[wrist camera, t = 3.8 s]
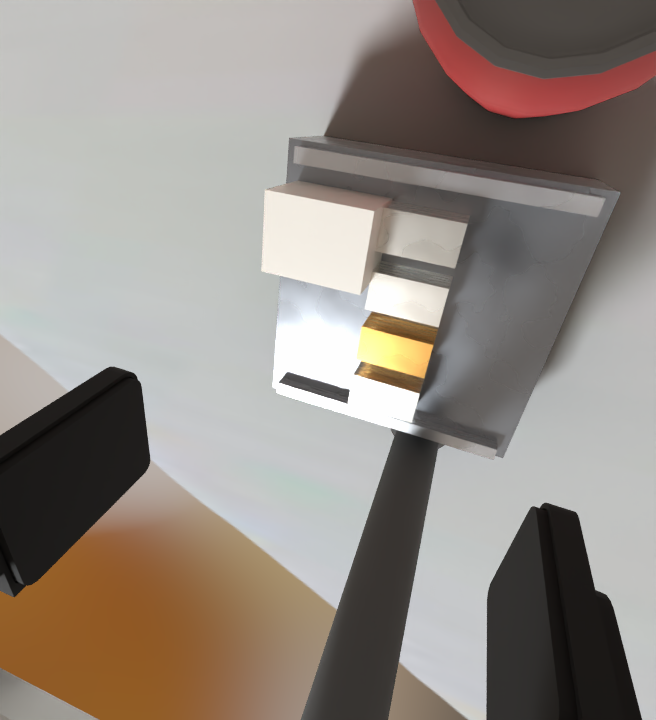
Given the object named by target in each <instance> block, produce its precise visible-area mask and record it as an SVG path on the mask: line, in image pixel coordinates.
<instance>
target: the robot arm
mask: <svg viewBox="0 0 656 720" xmlns="http://www.w3.org/2000/svg"><path fill="white" fill-rule="evenodd" d="M149 464H150V453H149V445H148V436H147V428H146V420H145V412H144V403H143V395H142V387H141V383H140V382H139V381H138V379H137V376H136V375H135V374H134V373H132V372H129V371H126V370H123V369H120V368H116V367H108V368H106V369H105V370H103V371H101V372H100V373H98V374H97V375H95V376H93V377H92V378H90V379H89V380H87V381H86V382H84V383H82V384H81V385H79V386H78V387H76V388H74V389H73V390H71V391H70V392H68V393H67V394H65V395H63V396H62V397H60V398H59V399H57V400H55V401H54V402H52V403H51V404H49V405H48V406H46V407H44V408H43V409H41V410H40V411H38V412H37V413H35V414H33V415H32V416H30V417H29V418H27V419H25V420H24V421H22V422H21V423H19V424H18V425H16V426H14V427H13V428H11V429H10V430H8V431H6V432H5V433H3V434H2V435H0V591H2V592H4V593H6V594H8V595H10V596H12V597H15V596H16V595H17V594H18V593H19V592H20V591H21V590H22V589H23V588H24V587H25V586H26V585H27V586H28V585H32V584H33V583H35V582H36V581H38V579H40V578H41V577H42V576H43V575H44V574H45V573H46V572H47V571H48V570H49V569H50V568H51V567H52V566H53V565H54V564H55V563H56V562H57V561H58V560H59V559H60V558H61V557H62V556H63V555H64V554H65V553H66V552H67V551H68V550H69V548H71V547H72V546H73V545H74V544H75V543H76V542H77V541H78V540H79V539H80V538H81V537H82V536H83V535H84V534H85V532H87V530H89V528H91V527H92V526H93V525H94V524H95V522H97V521H98V519H100V517H102V516H103V515H104V514H105V513H106V512H107V511H108V510H109V509H110V508H111V506H113V505H114V503H116V501H117V500H118V499H119V498H120V497H121V496H122V495H123V494H124V493H125V492H126V491H127V490H128V489H129V488H130V487H131V486H132V485H133V484H134V483H135V482H136V481H137V480H138V479H139V478H140V477H141V476H142V475H143V474H144V473H145V472H146V470H147V469H148V467H149ZM0 720H98V719H96V718H94V717H93V716H91V715H89V714H87V713H85V712H83V711H81V710H79V709H77V708H76V707H74V706H72V705H70V704H68V703H66V702H64V701H62V700H60V699H58V698H57V697H55V696H53V695H51V694H49V693H47V692H45V691H43V690H41V689H39V688H38V687H36V686H33V685H32V684H30V683H28V682H26V681H24V680H22V679H20V678H18V677H16V676H14V675H13V674H11V673H9V672H7V671H5V670H3V669H1V668H0ZM487 720H642V718H641V714H640V710H639V706H638V702H637V698H636V694H635V691H634V687H633V683H632V679H631V675H630V671H629V667H628V663H627V659H626V655H625V651H624V648H623V644H622V640H621V636H620V632H619V628H618V624H617V620H616V616H615V612H614V609H613V606H612V604H611V601H610V599H609V598H608V597H607V595H606V594H603V593H601V592H599V591H596V590H595V587H594V583H593V578H592V574H591V570H590V565H589V561H588V556H587V552H586V548H585V543H584V539H583V534H582V530H581V526H580V521H579V517H578V515H577V513H576V512H574V511H571V510H568V509H564V508H561V507H558V506H555V505H552V504H549V503H544V504H542V506H541V507H540V508H537V507H534V506H533V507H531V508H530V510H529V512H528V514H527V515H526V517H525V519H524V521H523V523H522V525H521V527H520V529H519V531H518V532H517V534H516V536H515V538H514V540H513V542H512V544H511V546H510V548H509V549H508V551H507V553H506V555H505V557H504V559H503V561H502V563H501V565H500V566H499V568H498V570H497V572H496V574H495V576H494V578H493V580H492V582H491V584H490V587H489V591H488V597H487Z"/></svg>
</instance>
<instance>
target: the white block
mask: <svg viewBox="0 0 656 720" xmlns="http://www.w3.org/2000/svg"><path fill="white" fill-rule="evenodd" d="M392 199H393V198H388V197H383V196H377V195H372V194H367V193H361V192H356V191H351V190H345V189H340V188H335V187H329V186H324V185H319V184H313V183H308V182H303V181H294V182H291V183H287V184H284V185H280V186H276V187H273V188H269V189H266V190H265V201H264V225H263V248H262V271H263V272H267V273H271V274H275V275H279V276H283V277H287V278H291V279H295V280H300V281H304V282H308V283H312V284H316V285H320V286H324V287H328V288H332V289H337V290H341V291H345V292H349V293H353V294H357V295H361V293H362V292H363V291H364V290H365V289H366V287H367V286H368V285H369V284H370V278H371V273H372V271H373V269H374V268H375V267H376V266H377V265H378V264H379V262H380V261H381V258H382V253H381V252H377V251H375V250H376V245H377V239H378V234H379V228H380V222H381V217H382V211H383V207H385V206H386V205H387V204H389V203H390V202H392Z"/></svg>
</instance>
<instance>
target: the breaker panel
mask: <svg viewBox="0 0 656 720" xmlns="http://www.w3.org/2000/svg"><path fill="white" fill-rule="evenodd" d="M294 181H303V182H308V183H313V184H319V185H324V186H329V187H335V188H340V189H345V190H351V191H356V192H361V193H367V194H372V195H377V196H383V197H388V198H393V199H392V202H390V203H389V204H387V205H386V206H385V207H383V211H382V217H381V222H380V228H379V234H378V239H377V245H376V250H375V251H377V252H381V253H382V258H381V261H380V262H379V264H378V265H377V266H376V267H375V268H374V269H373V271H372V273H371V278H370V284H369V285H368V286H367V287H366V289H365V290H364V291H363V292H362V293H361V295H357V294H353V293H349V292H345V291H341V290H337V289H332V288H328V287H324V286H320V285H316V284H312V283H308V282H304V281H300V280H295V279H291V278H287V277H283V276H280V286H279V301H278V317H277V332H276V347H275V362H274V377H273V387H274V388H277V393H280V394H283V395H286V396H289V397H293V398H296V399H299V400H302V401H306V402H309V403H312V404H315V405H318V406H322V407H325V408H328V409H331V410H335V411H338V412H341V413H344V414H347V415H351V416H354V417H357V418H360V419H364V420H367V421H370V422H373V423H376V424H380V425H383V426H386V427H389V428H393V429H396V430H399V431H402V432H405V433H409V434H412V435H415V436H418V437H422V438H425V439H428V440H431V441H434V442H438V443H441V444H444V445H447V446H451V447H454V448H457V449H460V450H463V451H467V452H470V453H473V454H476V455H480V456H483V457H486V458H489V459H492V460H493V459H494V457H495V456H498V457H501V458H503V457H504V454H505V452H506V450H507V448H508V445H509V443H510V441H511V439H512V436H513V434H514V432H515V430H516V427H517V425H518V423H519V421H520V418H521V416H522V414H523V412H524V409H525V407H526V405H527V403H528V400H529V398H530V396H531V394H532V391H533V389H534V387H535V385H536V382H537V380H538V378H539V376H540V373H541V371H542V369H543V367H544V364H545V362H546V360H547V358H548V355H549V353H550V351H551V349H552V346H553V344H554V342H555V340H556V337H557V335H558V333H559V331H560V328H561V326H562V324H563V322H564V319H565V317H566V315H567V313H568V310H569V308H570V306H571V304H572V301H573V299H574V297H575V295H576V292H577V290H578V288H579V286H580V283H581V281H582V279H583V277H584V274H585V272H586V270H587V268H588V265H589V263H590V261H591V259H592V256H593V254H594V252H595V250H596V247H597V245H598V243H599V241H600V238H601V236H602V234H603V232H604V229H605V227H606V225H607V223H608V220H609V218H610V216H611V214H612V211H613V209H614V207H615V205H616V202H617V200H618V198H619V196H620V193H621V192H619V191H618V190H616V189H614V188H612V187H610V186H608V185H607V184H605V183H603V182H601V181H599V180H597V179H590V178H584V177H578V176H572V175H565V174H559V173H553V172H547V171H540V170H534V169H528V168H522V167H515V166H509V165H503V164H496V163H490V162H484V161H478V160H471V159H465V158H459V157H453V156H446V155H440V154H434V153H428V152H421V151H415V150H409V149H403V148H396V147H390V146H384V145H378V144H371V143H365V142H359V141H353V140H346V139H340V138H334V137H328V136H312V137H296V138H289V150H288V165H287V180H286V184H287V183H291V182H294Z"/></svg>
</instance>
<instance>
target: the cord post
mask: <svg viewBox="0 0 656 720" xmlns="http://www.w3.org/2000/svg"><path fill="white" fill-rule="evenodd" d="M391 431H392V433H393V435H394V436H395V437H394V440H393V443H392V446H391V449H390V452H389V455H388V458H387V461H386V464H385V467H384V470H383V473H382V476H381V479H380V482H379V485H378V488H377V491H376V494H375V497H374V500H373V503H372V506H371V509H370V512H369V515H368V518H367V521H366V524H365V527H364V530H363V533H362V536H361V539H360V542H359V546H358V549H357V552H356V555H355V558H354V561H353V564H352V567H351V570H350V573H349V576H348V579H347V582H346V585H345V588H344V591H343V594H342V597H341V600H340V603H339V606H338V609H337V612H336V615H335V618H334V621H333V624H332V627H331V630H330V633H329V636H328V639H327V642H326V646H325V649H324V652H323V655H322V657H321V660H320V664H319V666H318V670H317V672H316V676H315V679H314V682H313V685H312V688H311V691H310V694H309V697H308V700H307V703H306V706H305V709H304V712H303V715H302V718H301V720H388V716H389V711H390V706H391V700H392V695H393V689H394V684H395V678H396V673H397V668H398V662H399V657H400V651H401V646H402V641H403V635H404V630H405V624H406V619H407V614H408V608H409V603H410V597H411V592H412V586H413V581H414V576H415V570H416V565H417V559H418V554H419V548H420V543H421V538H422V532H423V527H424V521H425V516H426V510H427V505H428V500H429V494H430V489H431V483H432V478H433V473H434V467H435V462H436V456H437V451H438V449H439V448H441V447H442V446H444V444H441V443H438V442H434V441H431V440H428V439H425V438H422V437H418V436H415V435H412V434H409V433H405V432H402V431H399V430H396V429H393V428H391Z"/></svg>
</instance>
